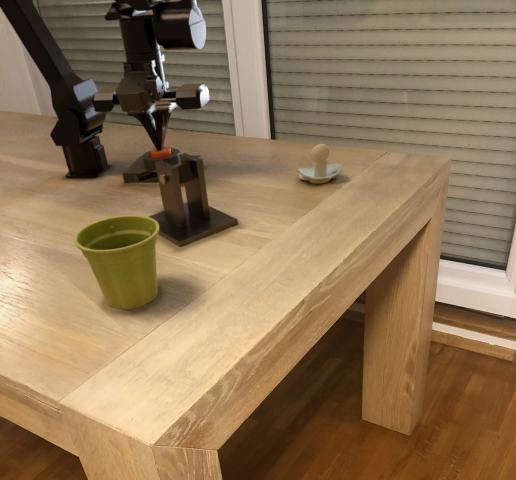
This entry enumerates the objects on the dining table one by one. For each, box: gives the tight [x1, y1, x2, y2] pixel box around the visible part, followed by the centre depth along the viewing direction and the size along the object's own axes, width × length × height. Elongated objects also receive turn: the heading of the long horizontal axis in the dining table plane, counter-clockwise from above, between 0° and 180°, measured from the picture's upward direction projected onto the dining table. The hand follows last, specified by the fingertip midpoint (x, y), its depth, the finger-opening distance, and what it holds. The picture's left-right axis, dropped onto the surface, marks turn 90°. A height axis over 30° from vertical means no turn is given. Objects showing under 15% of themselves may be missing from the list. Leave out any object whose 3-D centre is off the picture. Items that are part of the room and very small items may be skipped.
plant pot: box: [73, 214, 159, 310], centre depth 65 cm, size 9×9×9 cm
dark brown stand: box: [148, 152, 239, 248], centre depth 81 cm, size 11×10×10 cm
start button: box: [149, 146, 172, 158], centre depth 100 cm, size 4×4×2 cm
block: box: [121, 147, 204, 184], centre depth 101 cm, size 12×9×4 cm
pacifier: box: [297, 143, 343, 185], centre depth 93 cm, size 7×6×6 cm
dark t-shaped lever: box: [134, 163, 194, 185], centre depth 82 cm, size 11×6×2 cm, turn 38°
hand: (160, 149), depth 99 cm, fingers closed, pressing on start button
